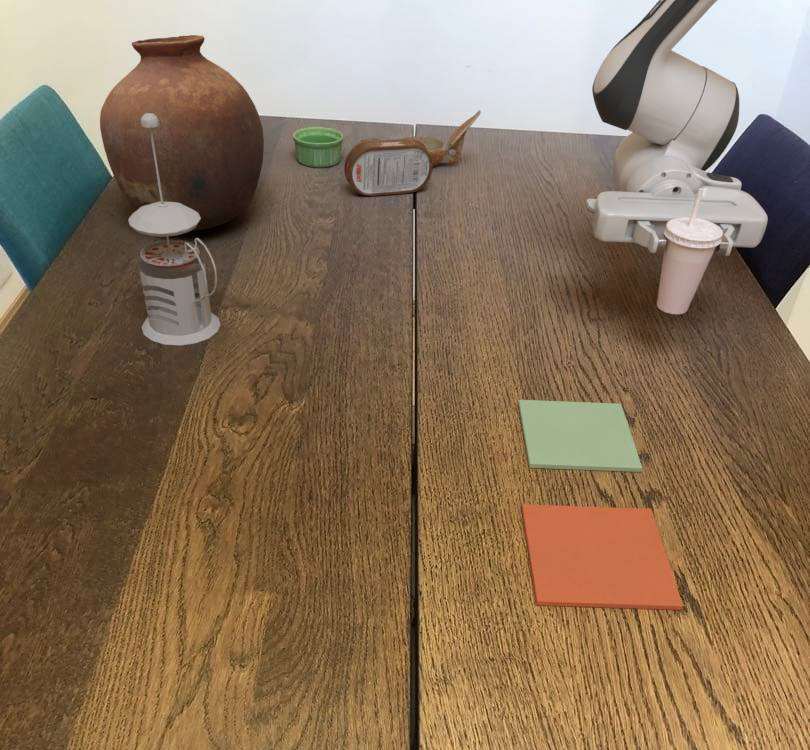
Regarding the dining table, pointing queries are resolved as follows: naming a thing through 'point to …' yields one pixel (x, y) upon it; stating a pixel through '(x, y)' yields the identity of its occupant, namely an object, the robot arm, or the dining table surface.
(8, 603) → the dining table surface
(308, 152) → the ramekin
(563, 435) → the sage mat
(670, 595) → the terracotta mat
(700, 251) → the smoothie
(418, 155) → the tin
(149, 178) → the pottery
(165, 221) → the french press
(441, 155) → the oil lamp
